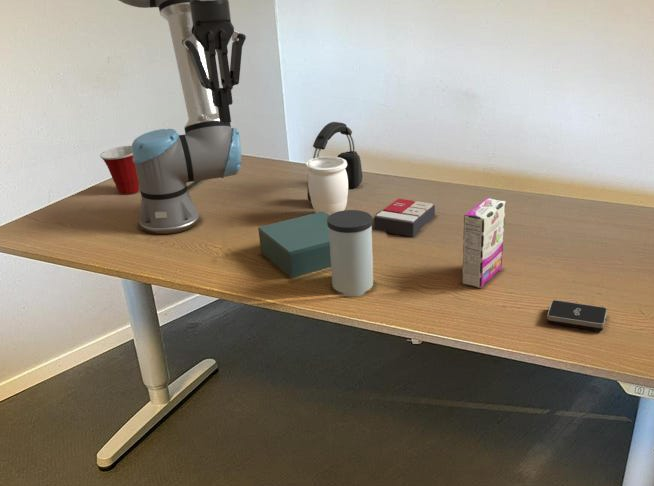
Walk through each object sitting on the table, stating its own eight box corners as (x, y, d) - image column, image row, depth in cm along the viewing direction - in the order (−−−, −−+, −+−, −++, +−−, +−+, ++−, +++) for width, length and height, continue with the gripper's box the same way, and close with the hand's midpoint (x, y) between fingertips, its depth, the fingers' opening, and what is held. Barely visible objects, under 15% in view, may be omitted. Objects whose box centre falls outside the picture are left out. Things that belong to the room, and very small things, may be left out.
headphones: (346, 180, 216) (343, 112, 204) (365, 183, 213) (362, 114, 202) (305, 205, 199) (299, 132, 188) (325, 209, 197) (320, 135, 186)
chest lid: (323, 214, 178) (323, 211, 177) (358, 236, 166) (358, 233, 165) (258, 230, 170) (258, 227, 169) (290, 255, 158) (289, 252, 158)
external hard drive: (551, 308, 149) (552, 299, 148) (606, 316, 146) (608, 307, 145) (545, 324, 144) (547, 315, 143) (603, 333, 141) (604, 324, 140)
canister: (330, 278, 162) (325, 211, 153) (371, 275, 163) (369, 208, 154) (333, 298, 155) (328, 228, 146) (376, 295, 155) (374, 225, 147)
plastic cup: (113, 185, 216) (103, 145, 209) (150, 183, 217) (141, 143, 210) (105, 198, 207) (95, 157, 200) (144, 196, 208) (135, 155, 201)
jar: (344, 227, 187) (341, 170, 178) (305, 224, 188) (301, 168, 180) (353, 211, 195) (351, 156, 187) (317, 209, 197) (313, 154, 189)
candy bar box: (482, 264, 167) (486, 196, 158) (502, 269, 165) (507, 200, 156) (460, 284, 159) (463, 213, 150) (480, 289, 157) (485, 218, 148)
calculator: (435, 202, 190) (413, 220, 178) (435, 218, 192) (413, 236, 180) (397, 196, 194) (373, 213, 182) (397, 212, 196) (373, 230, 184)
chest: (322, 238, 181) (320, 214, 177) (356, 262, 169) (355, 237, 166) (261, 255, 173) (258, 230, 170) (292, 281, 162) (290, 255, 158)
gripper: (182, 3, 135) (202, 130, 148) (247, -4, 141) (261, 120, 154) (169, -1, 140) (189, 122, 153) (232, -7, 146) (246, 112, 159)
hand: (225, 121), depth 153 cm, fingers closed
